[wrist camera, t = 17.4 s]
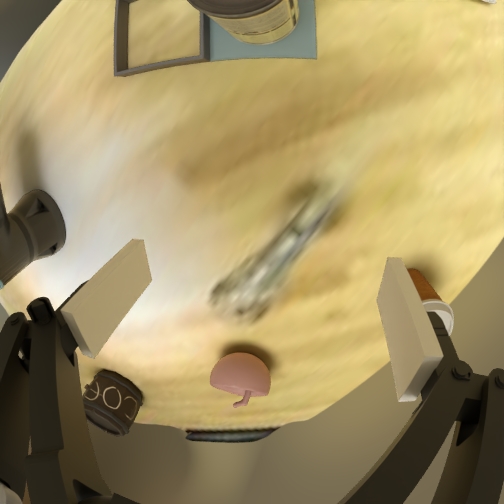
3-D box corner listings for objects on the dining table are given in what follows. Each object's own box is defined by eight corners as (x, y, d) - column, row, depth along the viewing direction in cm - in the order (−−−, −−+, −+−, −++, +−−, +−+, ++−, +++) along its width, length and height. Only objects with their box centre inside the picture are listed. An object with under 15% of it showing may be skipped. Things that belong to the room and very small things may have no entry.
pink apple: (220, 371, 62) (207, 412, 52) (216, 336, 56) (199, 380, 46) (272, 379, 60) (265, 421, 50) (275, 344, 54) (267, 391, 45)
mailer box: (125, 76, 35) (114, 76, 32) (126, 1, 28) (116, -3, 25) (316, 59, 30) (317, 55, 27) (312, -26, 23) (312, -34, 21)
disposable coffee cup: (375, 270, 43) (391, 321, 33) (428, 252, 40) (456, 297, 29) (386, 312, 47) (398, 363, 36) (433, 296, 43) (455, 343, 33)
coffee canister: (106, 360, 71) (81, 400, 58) (153, 396, 76) (134, 437, 62) (90, 374, 79) (68, 407, 66) (130, 405, 84) (113, 439, 70)
